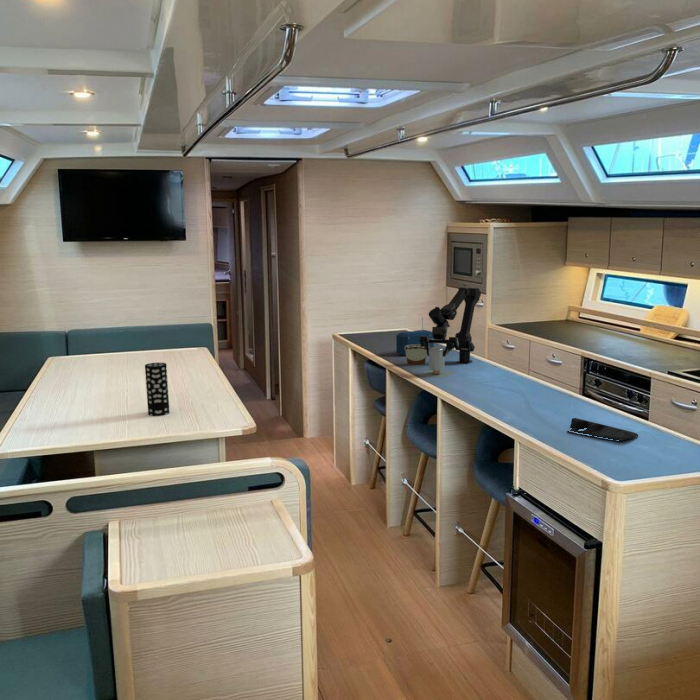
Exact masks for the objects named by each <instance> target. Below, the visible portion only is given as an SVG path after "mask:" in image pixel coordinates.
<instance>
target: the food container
mask: <svg viewBox="0 0 700 700" xmlns="http://www.w3.org/2000/svg"><path fill="white" fill-rule="evenodd" d="M404 350H405V351H406V356H405V358H406V359H405V360H406V366H413V365H415V366H416V365H420V366H421V365H426V363H427V362H426V361H427V350H426V348H425V347H424V346H421V345H420V344H411V345H406V346H405V348H404Z"/></svg>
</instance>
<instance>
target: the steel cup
mask: <svg viewBox="0 0 700 700" xmlns="http://www.w3.org/2000/svg"><path fill="white" fill-rule="evenodd" d="M444 352H445V348H444V347H439V346H437V347H436V346H435V347H432V348H429V356H428V370H434V371H445V364H446V363H445V359H446V356H445V357H444Z"/></svg>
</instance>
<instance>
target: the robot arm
mask: <svg viewBox="0 0 700 700" xmlns="http://www.w3.org/2000/svg"><path fill="white" fill-rule="evenodd" d="M481 296H482V291H481V290H480V288H478V287H465V286H459V287H458V289H457V292H456V293H455V295H454V296H453V297H452V298H451V300H450V301H449V303H447V304H445V305H444V306H442V307H441V308H440V307H439V306H435V308H432V309H430V311H429V312H428V316H429V318H430V319H431V321H432V322H433V324H434V325H435V326H432V330H431V332H432V334H433V335H432V336H433V337H434V339H429V338H428V336H420V337H419V342H420V345H421V346H424V347H425V348H426V350H427V355H426V357H429V348H430V345H429V344H430V343H434V344H438V345H445V348H444V350H445V352H444V357H445V358H446V356H447V355H449V353H450V351H451V350H454V349H455V351H459V353H458V354H459V355H458V357H459V358H458V360H457V361H456V363H458V362H459V364H471V363H472V361H473V360H471V353H473V352H474V351H475V348H476V347H475V345H474V343H473V342H472V339H473V338H472V335H471V328H472V322H473V317H474V312H475V311H474V310H475V306H476V305H477V304H478V303H479V301H480V298H481ZM463 301H464V310H463V314H462V321H461V326H460V329H459V332H456V333H455V336H449V338H448V339H446V337H447V333H448V328H449V327H450V325H451V324H449V323H450V322H449V321H453V320H455V318H456V316H457V314H458V311H457V310H458V308H459V307H460V306H461V305H462V303H463ZM451 352H452V351H451Z"/></svg>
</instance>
